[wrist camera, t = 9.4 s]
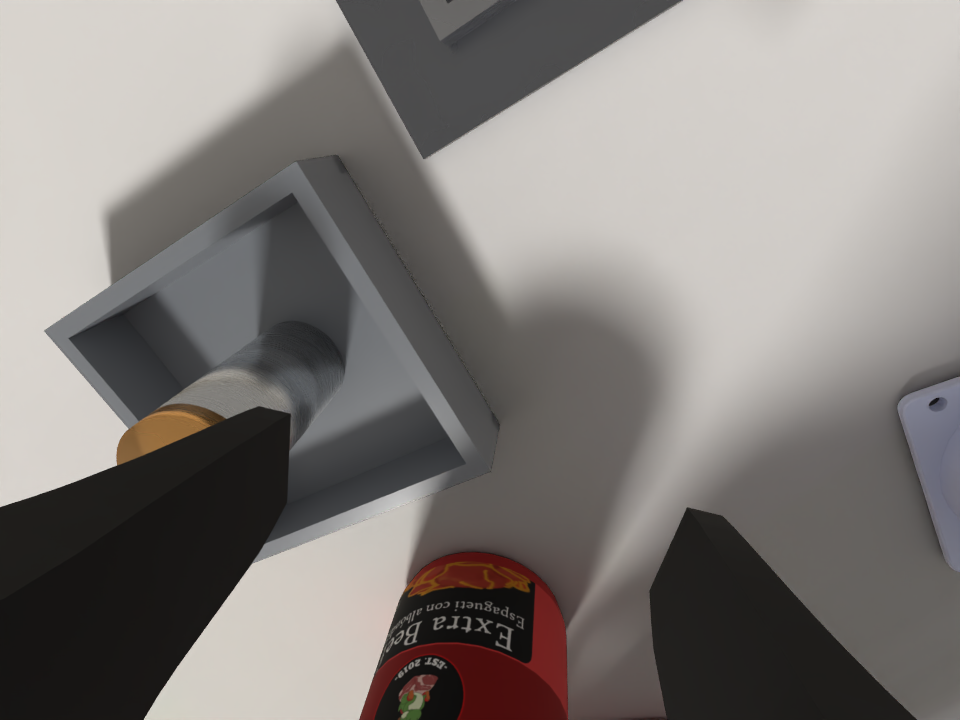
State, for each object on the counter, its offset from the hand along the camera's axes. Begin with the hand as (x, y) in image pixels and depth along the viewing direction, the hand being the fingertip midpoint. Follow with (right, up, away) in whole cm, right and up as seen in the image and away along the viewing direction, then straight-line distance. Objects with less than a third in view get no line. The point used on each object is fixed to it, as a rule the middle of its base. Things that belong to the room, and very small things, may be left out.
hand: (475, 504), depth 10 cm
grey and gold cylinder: (-7, +2, +10) cm, 12 cm away
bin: (-7, +2, +11) cm, 13 cm away
